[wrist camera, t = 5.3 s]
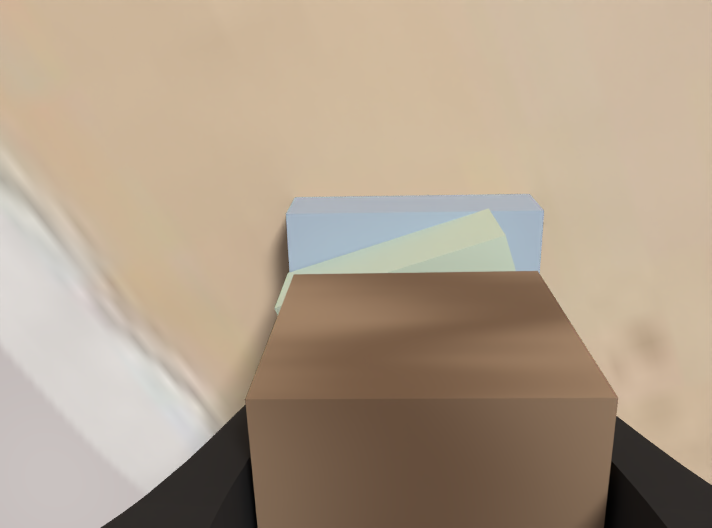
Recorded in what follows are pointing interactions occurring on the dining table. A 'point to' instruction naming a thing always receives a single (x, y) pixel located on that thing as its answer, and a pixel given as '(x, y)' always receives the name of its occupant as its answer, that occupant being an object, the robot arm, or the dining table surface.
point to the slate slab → (404, 223)
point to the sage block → (426, 252)
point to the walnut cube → (428, 406)
